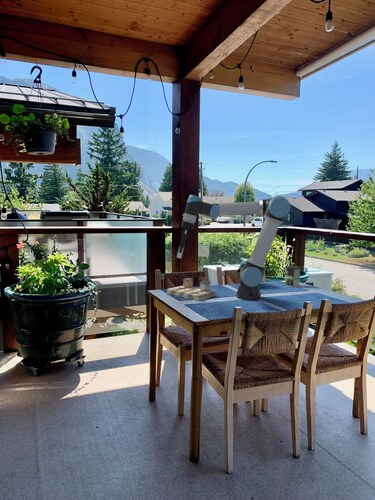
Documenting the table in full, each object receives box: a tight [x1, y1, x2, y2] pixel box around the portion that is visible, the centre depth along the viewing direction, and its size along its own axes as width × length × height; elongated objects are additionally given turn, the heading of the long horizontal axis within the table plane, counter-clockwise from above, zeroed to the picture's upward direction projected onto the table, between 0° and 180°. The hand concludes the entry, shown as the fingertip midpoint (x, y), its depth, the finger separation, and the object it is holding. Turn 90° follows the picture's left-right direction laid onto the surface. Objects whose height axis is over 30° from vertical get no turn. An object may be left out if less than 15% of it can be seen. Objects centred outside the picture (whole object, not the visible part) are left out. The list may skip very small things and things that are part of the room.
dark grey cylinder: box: [235, 266, 265, 282], centre depth 264 cm, size 20×20×19 cm
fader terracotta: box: [182, 277, 194, 288], centre depth 241 cm, size 4×5×5 cm
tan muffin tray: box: [166, 285, 216, 302], centre depth 232 cm, size 26×17×3 cm, turn 50°
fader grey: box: [199, 280, 211, 291], centre depth 232 cm, size 4×5×5 cm
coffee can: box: [284, 265, 301, 288], centre depth 267 cm, size 10×10×14 cm
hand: (179, 256), depth 217 cm, fingers open, 13 cm apart
